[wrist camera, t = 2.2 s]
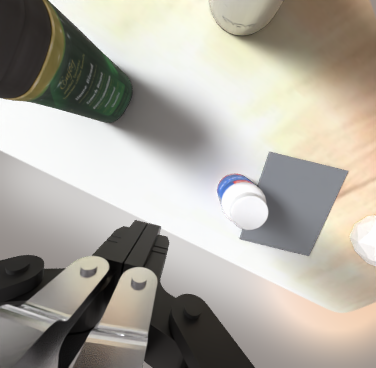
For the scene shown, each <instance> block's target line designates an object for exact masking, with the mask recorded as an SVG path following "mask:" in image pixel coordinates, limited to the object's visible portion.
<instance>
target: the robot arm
mask: <svg viewBox="0 0 376 368" xmlns="http://www.w3.org/2000/svg"><path fill="white" fill-rule="evenodd" d="M283 1H284V0H209V4H210V9H211V12H212V15H213V17H214V19H215V20H216V22H217V23H218V24H219V25H220V27H221V28H223V29H224V30H226V31H227V32H229V33H232V34H234V35H250V34H252V33H255V32H257V31H259V30H260V29H262V28H264V27H265V26H266V25H267V24H268V23H269V22H270V21H271V19H272V18H273V17H274V15H275V14H276V12H277V10H278V9H279V7H280V5H281V4H282V2H283ZM160 229H161V226H158V225H154V224H150V223H145V222H141V221H137V220H135V221H134V222H133V224H132V225H131V226H130V227H124V226H123V227H121V228H119V229H117V230H116V231H114V233H113V234H112V235H111V236H110V237H109V238H108V239H107V241H105V242H104V243H103V244H102V245H101V246H100V247H99V249H98V250H97V251H96V252H95V253H94V254H93V255H92V256H87V257H83V258H80V259H78V260H76V261H74V262H73V263H72V264H71V265H69V267H67V268H63V269H44V261H43V260H42V259H41V258H40V257H37V256H33V255H23V256H17V257H13V258H9V259H5V260H1V261H0V368H143V363H144V361H145V362H146V363H147V364H149V365H150V366H151V367H153V368H255V367H254V366H253V364H252V363H251V362H250V360H249V359H248V358H247V357H246V355H245V354H244V353H243V351H242V350H241V349H240V347H239V346H238V345H237V343H236V342H235V341H234V339H233V338H232V337H231V335H230V334H229V333H228V331H227V330H226V329H225V327H224V326H223V325H222V324H221V322H220V321H219V320H218V318H217V317H216V316H215V314H214V313H213V312H212V310H211V309H210V308H209V307H208V305H207V304H206V303H205V302H204V301H203V300H202V299H201V298H199V297H198V296H195V295H192V294H183V295H180V296H178V297H177V298H175V297H173V296H171V295H170V294H168V293H167V292H166V291H165V290H164V289H163V287H162V286H161V283H160V278H161V274H162V271H163V267H164V263H165V259H166V255H167V251H168V246H169V240H168V238H167V237H166V236H162V235H159V234H160ZM101 318H102V319H101Z"/></svg>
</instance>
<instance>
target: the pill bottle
mask: <svg viewBox="0 0 376 368" xmlns="http://www.w3.org/2000/svg"><path fill="white" fill-rule="evenodd" d="M217 193H218V197H219V200H220V204H221V207H222V210H223V212H224V214H225V216H226V217H227V218H228V219H229V220H230V221H232V222H234V224H235V225H236V226H238V227H239V228H241V229H244V230H253V229H256V228H259V227H260V226H262V225H263V224H264V223H265V221H266V220H267V217H268V207H267V205H266V198H265V195H264V193H263V192H262V191H261V189H260V188H258V187H257V186H256V185H255V184H254V183H252V182H251V181H250V180H249V179H247V178H246V177H245V176H243V175H241V174H229V175H227V176H225V177H224V178H222V179H221V181H220V182H219V184H218V188H217Z"/></svg>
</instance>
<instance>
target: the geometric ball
mask: <svg viewBox="0 0 376 368" xmlns="http://www.w3.org/2000/svg"><path fill="white" fill-rule="evenodd" d="M350 239H351V242H352V244H353V247H354V250H355V251H356V252H357V253H358V254H359V255H360V256H361V257H362V258H363V259H364V260H365V261H366V262H367V263H368V264H371V265H374V266H376V215H372V216H367V217H365V218H363V219H362V220H360V221H359V222H357V223H355V224H354V226H353V229H352V231H351V234H350Z"/></svg>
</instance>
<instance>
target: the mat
mask: <svg viewBox="0 0 376 368" xmlns="http://www.w3.org/2000/svg"><path fill="white" fill-rule="evenodd" d="M347 173H348V171H346V170H342V169H338V168H334V167H330V166H326V165H322V164H318V163H314V162H310V161H306V160H301V159H297V158H293V157H289V156H285V155H281V154H277V153H273V152H269V154H268V157H267V160H266V163H265V166H264V169H263V172H262V174H261V177H260V180H259V183H258V186H257V187H258V188H260V189H261V191H262V192H263V193H264V195H265V198H266V205H267V207H268V217H267V220H266V221H265V223H264V224H263V225H262V226H260V227H259V228H256V229H253V230H244V229H243V230H242V233H241V235H240V239H241V240H245V241H249V242H253V243H257V244H261V245H266V246H270V247H274V248H278V249H282V250H286V251H290V252H294V253H298V254H302V255H307V256H309V255H310V253H311V250H312V248H313V246H314V244H315V242H316V240H317V238H318V235H319V233H320V231H321V229H322V227H323V225H324V222H325V220H326V218H327V216H328V214H329V212H330V209H331V207H332V205H333V203H334V201H335V199H336V197H337V194H338V192H339V190H340V188H341V186H342V184H343V181H344V179H345V177H346V175H347Z"/></svg>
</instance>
